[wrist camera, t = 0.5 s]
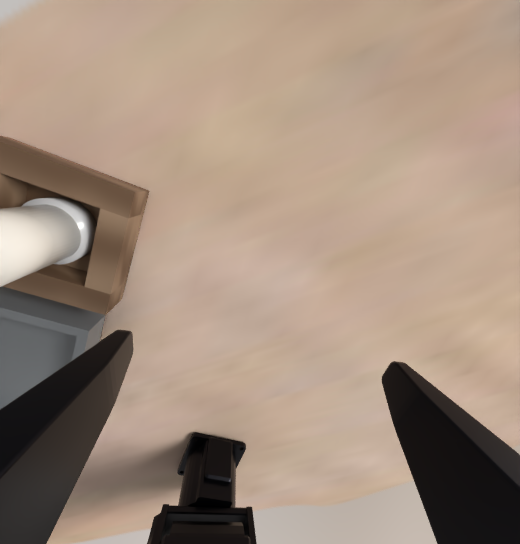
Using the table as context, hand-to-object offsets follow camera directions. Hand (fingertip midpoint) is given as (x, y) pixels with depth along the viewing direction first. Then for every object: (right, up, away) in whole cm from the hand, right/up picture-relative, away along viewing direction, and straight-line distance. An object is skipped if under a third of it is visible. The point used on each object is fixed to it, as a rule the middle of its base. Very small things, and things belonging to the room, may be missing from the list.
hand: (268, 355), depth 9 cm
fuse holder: (-16, +7, +12) cm, 21 cm away
